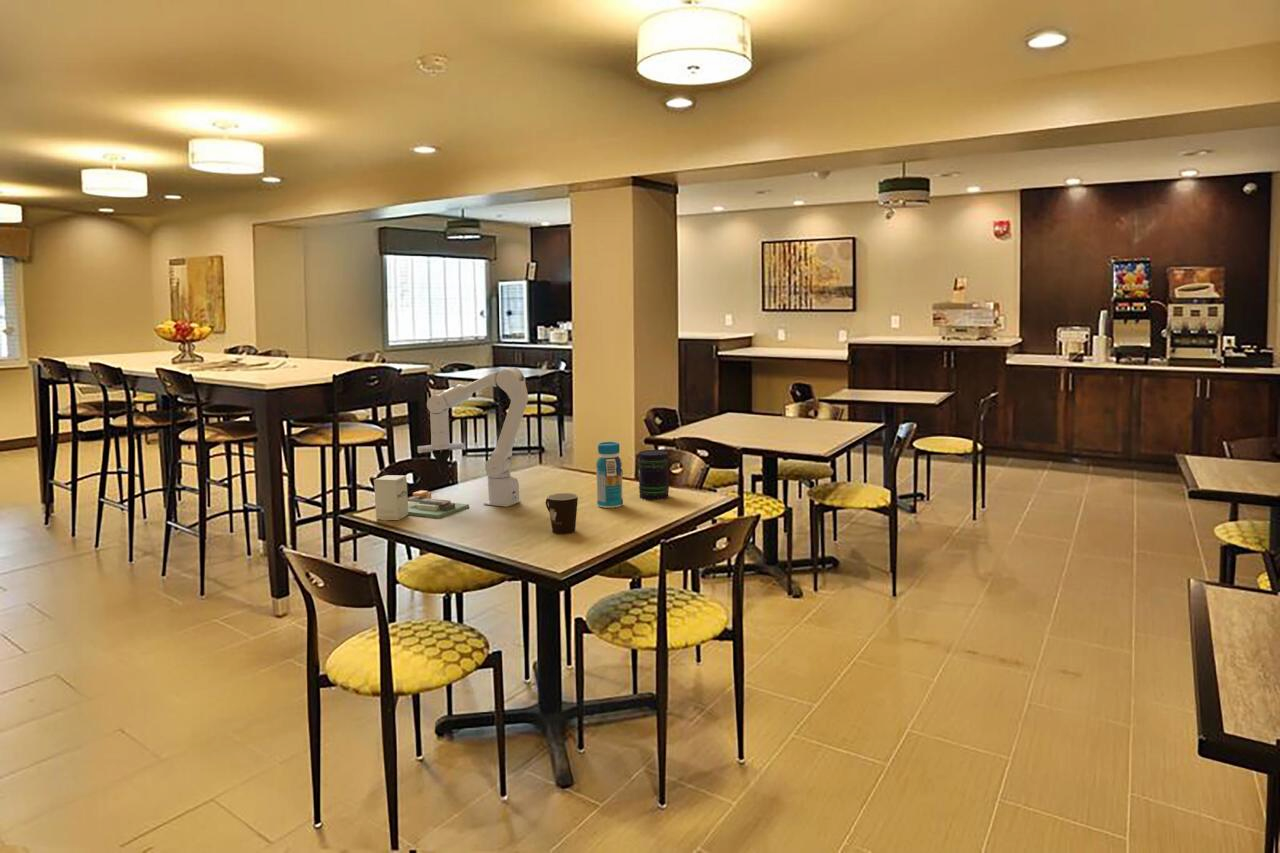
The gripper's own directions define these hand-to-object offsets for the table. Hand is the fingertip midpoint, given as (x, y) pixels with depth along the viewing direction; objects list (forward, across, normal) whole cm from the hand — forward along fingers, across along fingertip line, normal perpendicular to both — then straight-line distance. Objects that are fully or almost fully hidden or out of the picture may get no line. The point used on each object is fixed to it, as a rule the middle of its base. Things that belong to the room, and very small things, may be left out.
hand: (442, 472), depth 277 cm
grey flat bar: (+7, -6, -8) cm, 13 cm away
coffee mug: (+10, +25, -50) cm, 57 cm away
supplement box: (+10, -18, -13) cm, 24 cm away
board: (+10, -6, -9) cm, 14 cm away
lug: (+9, -7, -2) cm, 12 cm away
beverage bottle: (+10, +47, -29) cm, 56 cm away
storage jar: (+10, +64, -24) cm, 70 cm away
